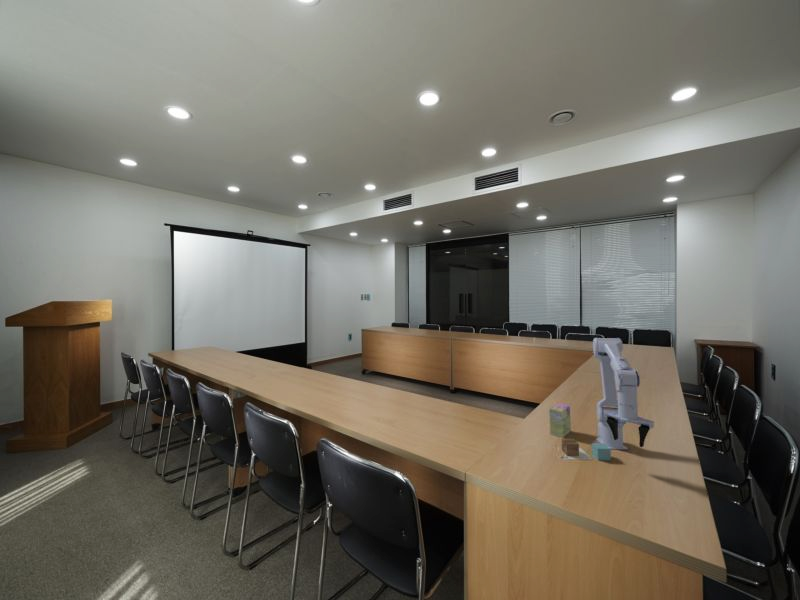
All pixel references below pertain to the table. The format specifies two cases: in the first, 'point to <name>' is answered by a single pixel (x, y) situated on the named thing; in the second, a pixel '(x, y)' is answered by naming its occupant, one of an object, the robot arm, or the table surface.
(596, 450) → the brick teal
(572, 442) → the brick walnut
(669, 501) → the table surface
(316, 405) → the table surface
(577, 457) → the baseplate
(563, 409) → the box
